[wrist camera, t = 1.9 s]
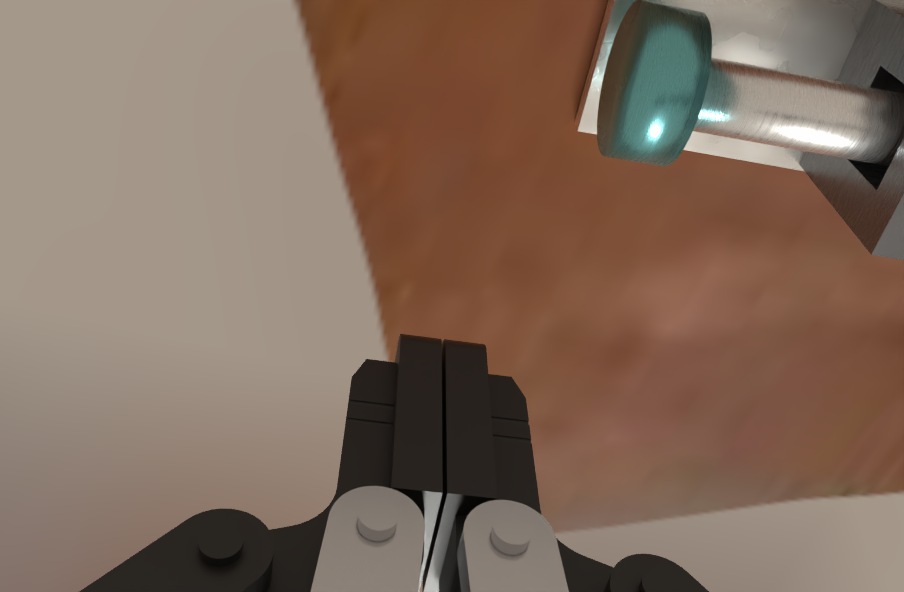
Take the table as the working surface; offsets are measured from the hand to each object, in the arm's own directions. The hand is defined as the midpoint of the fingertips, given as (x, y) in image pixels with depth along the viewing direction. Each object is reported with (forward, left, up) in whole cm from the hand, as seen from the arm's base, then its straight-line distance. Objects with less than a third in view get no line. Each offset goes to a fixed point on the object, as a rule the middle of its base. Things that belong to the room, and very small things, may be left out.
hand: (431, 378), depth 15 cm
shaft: (-12, -1, -18) cm, 22 cm away
